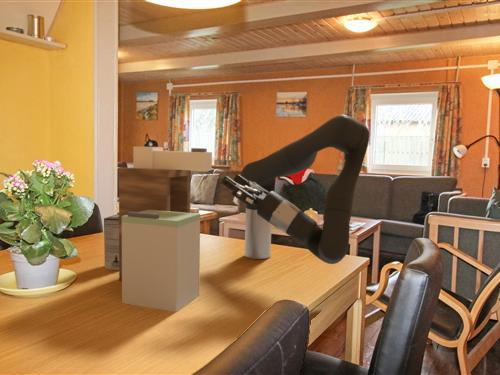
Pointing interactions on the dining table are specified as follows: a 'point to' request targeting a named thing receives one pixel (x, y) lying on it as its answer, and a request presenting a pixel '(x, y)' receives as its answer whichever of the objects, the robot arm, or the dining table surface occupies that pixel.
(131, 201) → the walnut bridge
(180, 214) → the green-lidded white box
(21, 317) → the dining table surface
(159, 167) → the stepped cream block
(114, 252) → the coffee box
